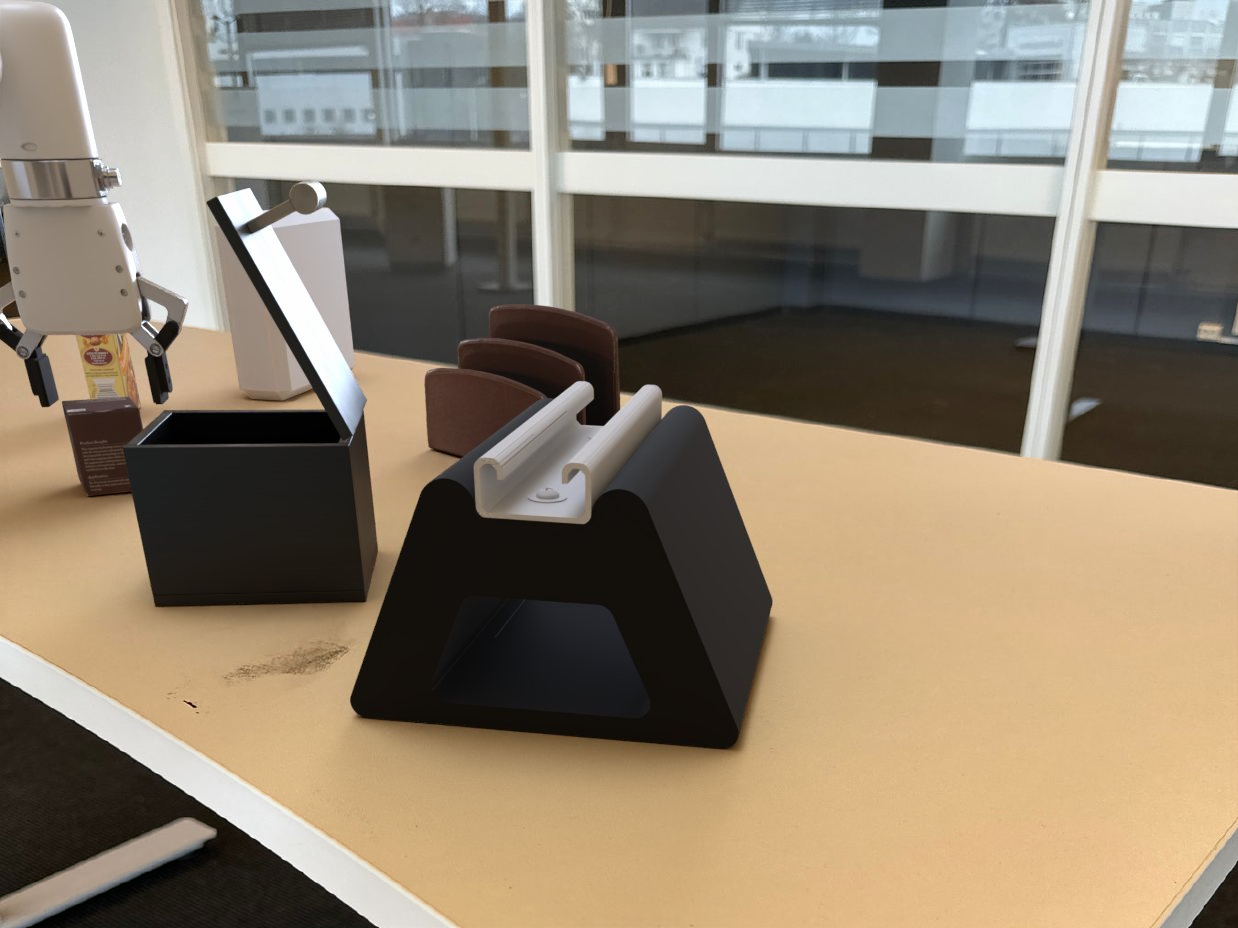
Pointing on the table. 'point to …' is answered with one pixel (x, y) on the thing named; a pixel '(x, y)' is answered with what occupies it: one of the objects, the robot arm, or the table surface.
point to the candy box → (108, 366)
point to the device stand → (575, 585)
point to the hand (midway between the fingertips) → (106, 402)
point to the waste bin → (253, 507)
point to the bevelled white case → (253, 330)
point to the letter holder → (521, 374)
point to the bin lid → (291, 295)
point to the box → (102, 441)
